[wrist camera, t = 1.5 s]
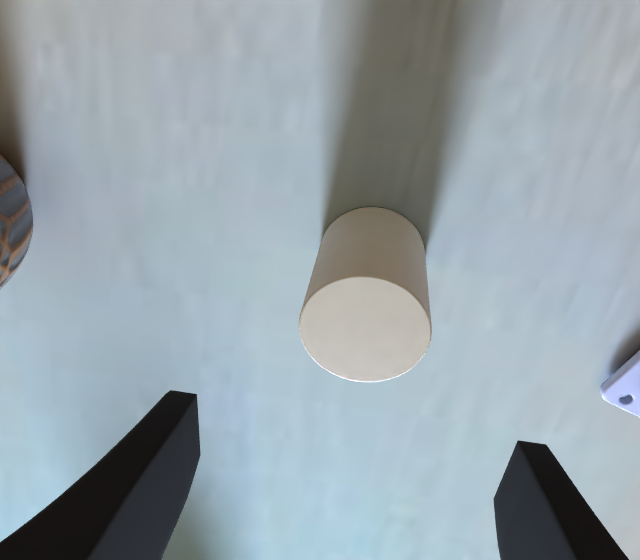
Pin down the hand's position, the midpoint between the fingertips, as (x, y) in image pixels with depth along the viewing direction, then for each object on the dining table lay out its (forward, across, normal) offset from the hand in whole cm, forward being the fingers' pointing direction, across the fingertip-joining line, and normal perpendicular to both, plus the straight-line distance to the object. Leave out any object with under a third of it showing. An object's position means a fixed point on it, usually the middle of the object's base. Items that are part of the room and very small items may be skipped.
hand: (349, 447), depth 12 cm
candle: (+10, 0, 0) cm, 10 cm away
